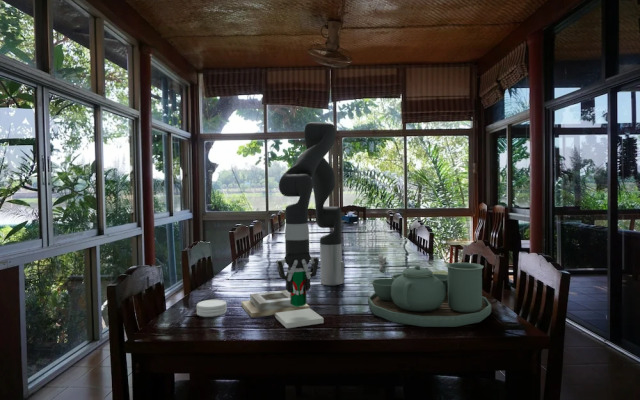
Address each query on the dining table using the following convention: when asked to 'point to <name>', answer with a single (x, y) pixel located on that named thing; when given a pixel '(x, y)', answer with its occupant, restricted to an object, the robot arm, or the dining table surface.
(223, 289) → the dining table surface
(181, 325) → the dining table surface
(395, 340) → the dining table surface
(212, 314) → the white ribbed disc
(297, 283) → the soda can
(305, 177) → the robot arm
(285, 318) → the tile
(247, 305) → the socket board
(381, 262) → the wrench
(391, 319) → the tea set
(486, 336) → the dining table surface
